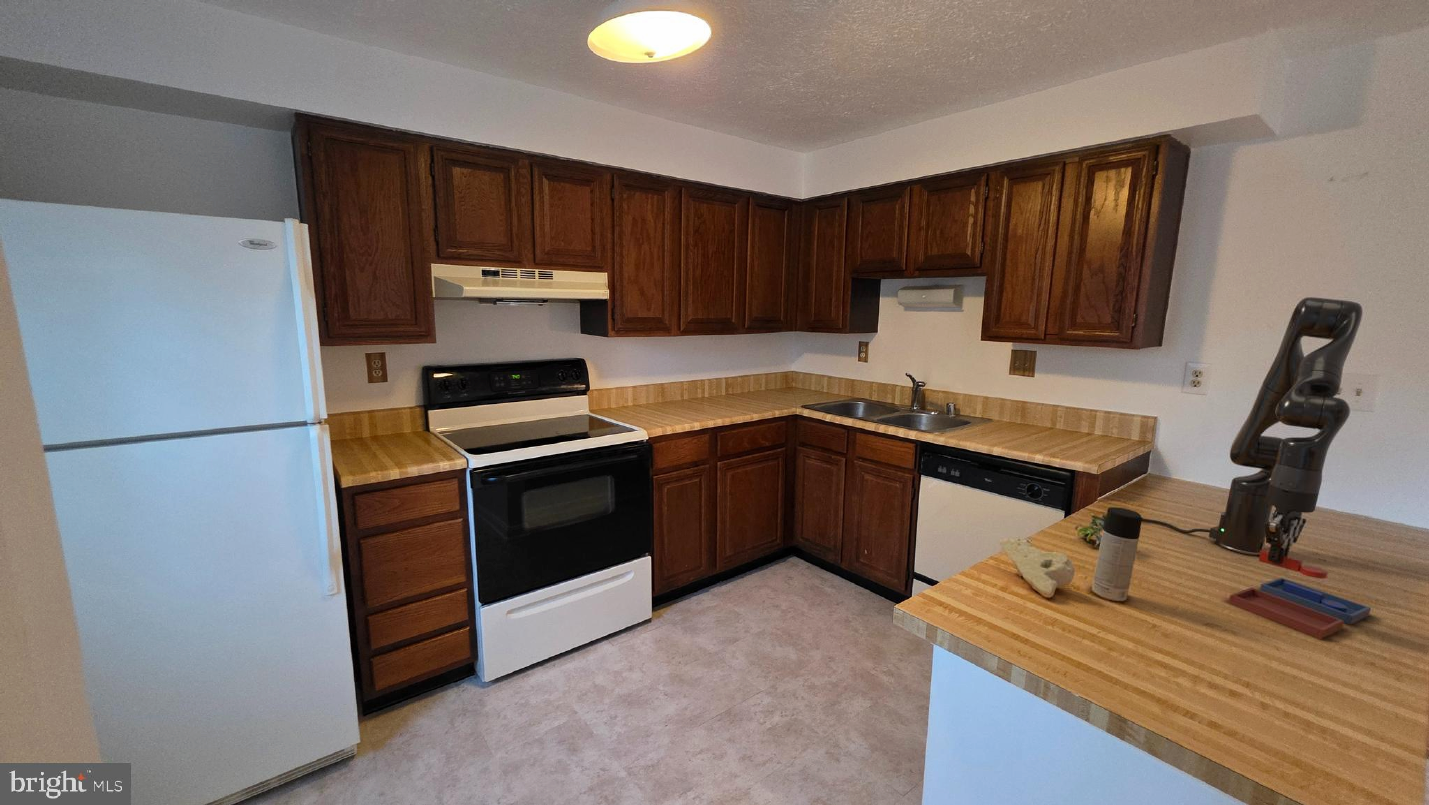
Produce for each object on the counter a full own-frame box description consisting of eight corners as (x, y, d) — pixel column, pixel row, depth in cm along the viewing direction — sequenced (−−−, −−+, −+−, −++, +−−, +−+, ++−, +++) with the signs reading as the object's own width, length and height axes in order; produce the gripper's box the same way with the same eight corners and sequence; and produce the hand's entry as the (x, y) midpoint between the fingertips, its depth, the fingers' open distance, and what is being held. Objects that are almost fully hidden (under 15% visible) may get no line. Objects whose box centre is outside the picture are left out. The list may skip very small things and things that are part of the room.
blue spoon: (1349, 611, 126) (1351, 601, 126) (1341, 614, 124) (1344, 604, 124) (1286, 589, 135) (1288, 580, 135) (1279, 592, 134) (1281, 583, 133)
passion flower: (1110, 564, 158) (1147, 541, 151) (1087, 562, 154) (1124, 538, 147) (1084, 530, 166) (1118, 506, 159) (1061, 527, 162) (1095, 502, 154)
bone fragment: (1080, 612, 124) (1078, 552, 133) (1072, 595, 120) (1070, 534, 129) (1005, 607, 133) (1007, 551, 142) (996, 591, 130) (999, 535, 139)
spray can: (1123, 592, 130) (1138, 510, 127) (1130, 605, 124) (1147, 519, 121) (1089, 585, 133) (1103, 504, 129) (1094, 597, 127) (1110, 513, 123)
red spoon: (1330, 576, 118) (1331, 565, 118) (1322, 579, 116) (1323, 568, 116) (1264, 559, 127) (1265, 549, 127) (1256, 562, 126) (1257, 551, 125)
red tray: (1228, 603, 128) (1230, 594, 127) (1249, 595, 132) (1251, 587, 132) (1321, 639, 114) (1323, 630, 114) (1341, 629, 119) (1343, 620, 119)
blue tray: (1259, 591, 134) (1261, 584, 134) (1278, 584, 139) (1280, 577, 139) (1350, 625, 121) (1352, 616, 121) (1368, 616, 125) (1371, 607, 125)
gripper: (1285, 479, 128) (1268, 550, 130) (1256, 483, 122) (1240, 559, 124) (1331, 489, 121) (1313, 564, 124) (1304, 494, 115) (1285, 574, 118)
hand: (1276, 561), depth 124 cm, fingers closed on red spoon, 1 cm apart
